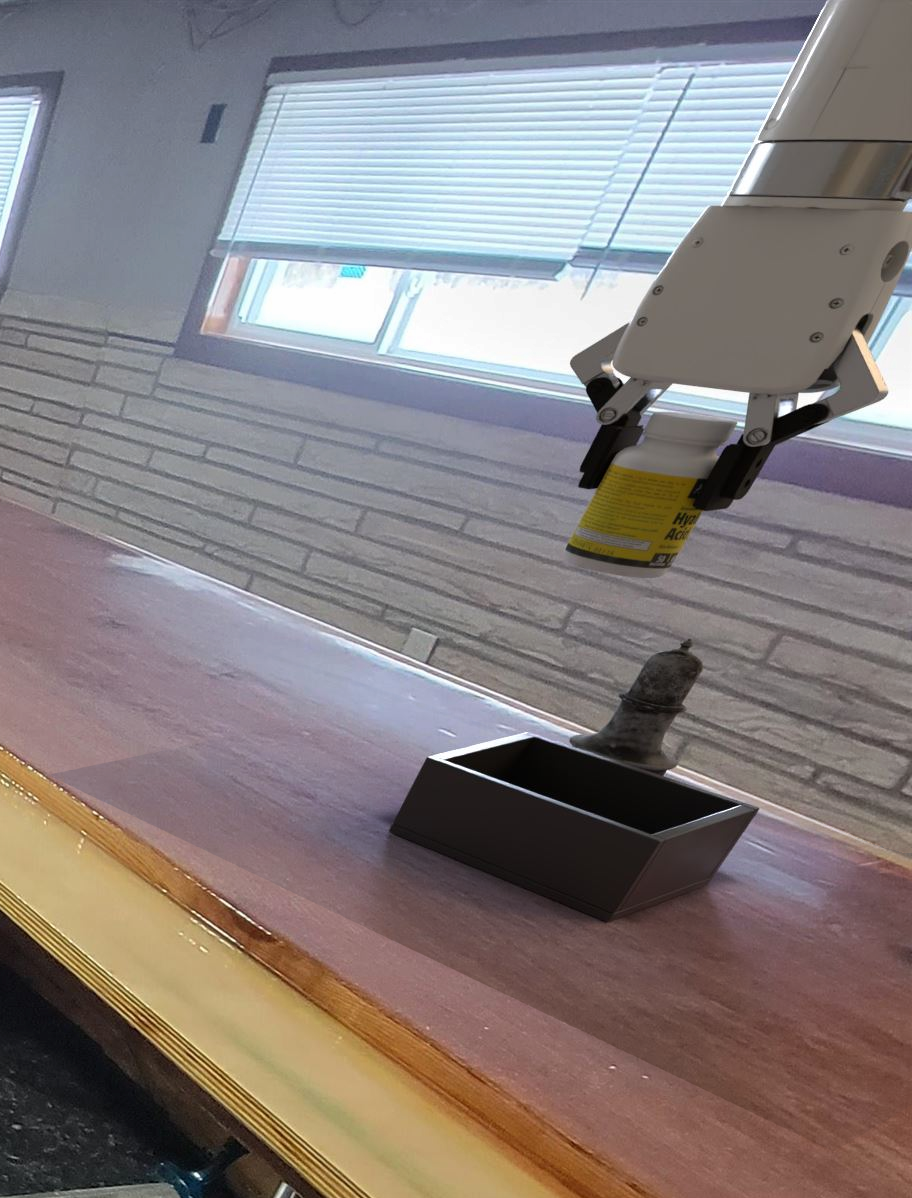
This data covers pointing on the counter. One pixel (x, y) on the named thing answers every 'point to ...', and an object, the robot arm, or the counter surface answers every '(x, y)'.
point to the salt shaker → (647, 712)
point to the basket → (571, 823)
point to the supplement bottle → (649, 497)
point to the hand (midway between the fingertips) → (652, 494)
